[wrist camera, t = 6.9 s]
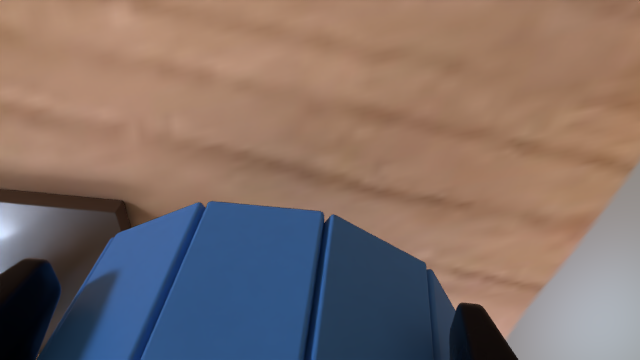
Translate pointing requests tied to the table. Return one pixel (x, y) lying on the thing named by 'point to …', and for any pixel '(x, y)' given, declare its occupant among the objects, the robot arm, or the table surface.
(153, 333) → the tape roll
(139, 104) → the table surface
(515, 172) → the table surface
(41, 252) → the tape stand
